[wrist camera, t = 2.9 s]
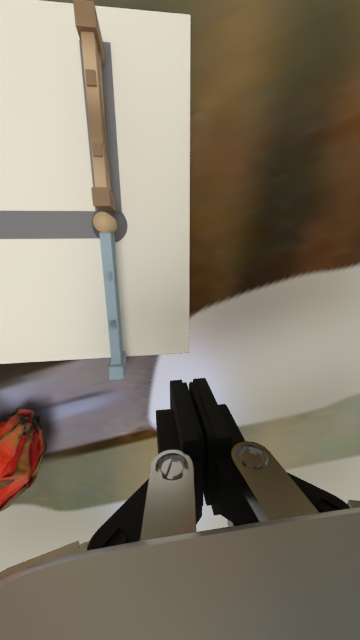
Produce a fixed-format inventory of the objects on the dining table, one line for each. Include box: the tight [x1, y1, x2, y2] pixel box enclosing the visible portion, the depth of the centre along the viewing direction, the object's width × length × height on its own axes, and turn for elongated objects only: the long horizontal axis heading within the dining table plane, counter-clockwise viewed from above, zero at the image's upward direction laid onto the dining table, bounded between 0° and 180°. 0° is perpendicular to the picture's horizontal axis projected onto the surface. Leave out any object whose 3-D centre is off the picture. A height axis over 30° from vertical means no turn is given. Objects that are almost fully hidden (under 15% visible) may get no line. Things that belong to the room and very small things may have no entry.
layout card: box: [0, 0, 190, 364], centre depth 22 cm, size 22×27×1 cm
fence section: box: [73, 0, 116, 211], centre depth 19 cm, size 11×1×4 cm, turn 0°
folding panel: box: [93, 212, 127, 380], centre depth 22 cm, size 14×1×3 cm, turn 0°
